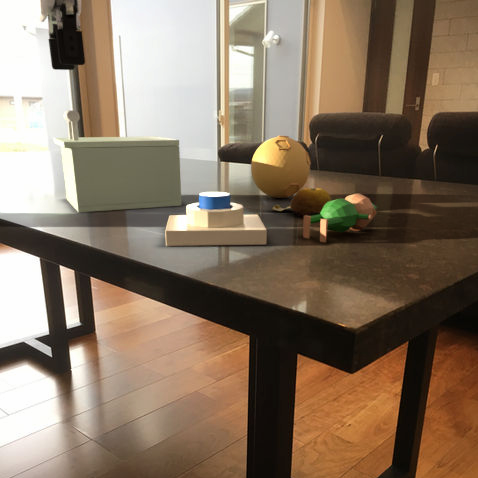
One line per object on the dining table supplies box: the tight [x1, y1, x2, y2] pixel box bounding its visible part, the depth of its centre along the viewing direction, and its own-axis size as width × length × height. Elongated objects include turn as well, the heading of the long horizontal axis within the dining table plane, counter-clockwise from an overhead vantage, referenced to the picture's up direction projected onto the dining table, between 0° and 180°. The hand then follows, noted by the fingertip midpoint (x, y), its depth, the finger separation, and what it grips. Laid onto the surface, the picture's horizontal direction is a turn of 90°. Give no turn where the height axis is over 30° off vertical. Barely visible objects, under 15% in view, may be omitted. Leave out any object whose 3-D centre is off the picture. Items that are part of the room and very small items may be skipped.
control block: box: [164, 202, 268, 247], centre depth 60 cm, size 11×9×4 cm
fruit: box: [271, 187, 332, 218], centre depth 74 cm, size 8×8×4 cm
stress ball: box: [250, 135, 312, 199], centre depth 87 cm, size 10×10×10 cm
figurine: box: [302, 193, 378, 244], centre depth 62 cm, size 4×7×12 cm
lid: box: [53, 110, 180, 148], centre depth 79 cm, size 16×13×5 cm
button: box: [198, 191, 231, 210], centre depth 59 cm, size 4×4×2 cm
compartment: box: [60, 145, 182, 213], centre depth 81 cm, size 16×13×9 cm
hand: (67, 67), depth 73 cm, fingers open, 9 cm apart
